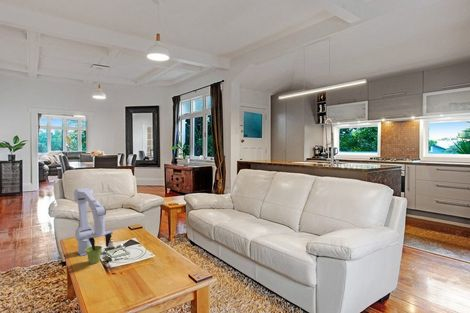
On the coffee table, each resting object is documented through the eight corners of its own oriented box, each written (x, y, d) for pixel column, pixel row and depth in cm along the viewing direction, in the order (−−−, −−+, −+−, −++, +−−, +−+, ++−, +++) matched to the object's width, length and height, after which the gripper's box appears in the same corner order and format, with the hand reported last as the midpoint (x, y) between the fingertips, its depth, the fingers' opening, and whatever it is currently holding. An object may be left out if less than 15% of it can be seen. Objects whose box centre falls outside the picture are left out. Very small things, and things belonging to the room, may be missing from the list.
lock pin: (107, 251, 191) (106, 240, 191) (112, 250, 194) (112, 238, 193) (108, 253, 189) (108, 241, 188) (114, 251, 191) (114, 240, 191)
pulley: (115, 248, 196) (114, 244, 196) (123, 246, 200) (123, 242, 200) (118, 251, 192) (118, 247, 192) (127, 249, 196) (126, 245, 196)
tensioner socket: (104, 251, 191) (104, 248, 191) (113, 249, 195) (113, 245, 195) (107, 254, 187) (107, 250, 187) (116, 251, 191) (116, 248, 191)
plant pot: (96, 266, 170) (95, 252, 169) (82, 264, 172) (81, 250, 171) (106, 259, 179) (105, 246, 179) (93, 258, 181) (92, 245, 181)
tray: (106, 255, 184) (106, 251, 184) (123, 251, 192) (123, 246, 192) (112, 261, 176) (112, 256, 176) (129, 256, 184) (129, 251, 184)
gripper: (88, 230, 163) (89, 253, 164) (114, 225, 173) (114, 246, 174) (85, 227, 168) (86, 249, 169) (110, 222, 178) (110, 243, 179)
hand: (100, 248), depth 172 cm, fingers open, 7 cm apart
